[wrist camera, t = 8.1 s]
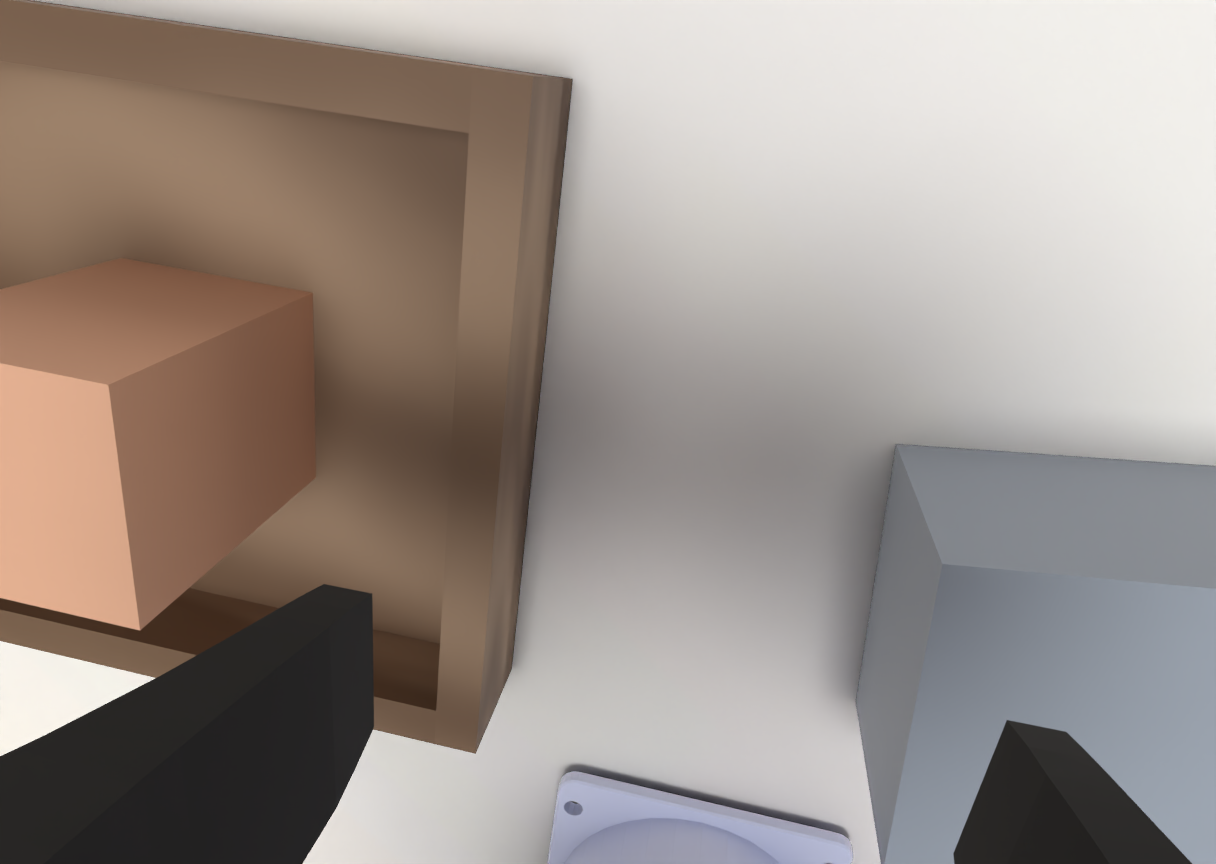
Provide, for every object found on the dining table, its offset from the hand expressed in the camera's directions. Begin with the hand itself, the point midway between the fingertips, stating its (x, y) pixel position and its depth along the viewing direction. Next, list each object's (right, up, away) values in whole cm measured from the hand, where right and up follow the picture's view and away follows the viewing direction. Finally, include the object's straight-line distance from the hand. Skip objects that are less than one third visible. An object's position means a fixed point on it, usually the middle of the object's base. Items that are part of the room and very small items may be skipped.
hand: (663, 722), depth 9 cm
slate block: (+9, 0, +9) cm, 13 cm away
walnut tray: (-9, +5, +10) cm, 15 cm away
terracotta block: (-9, +5, +9) cm, 14 cm away
